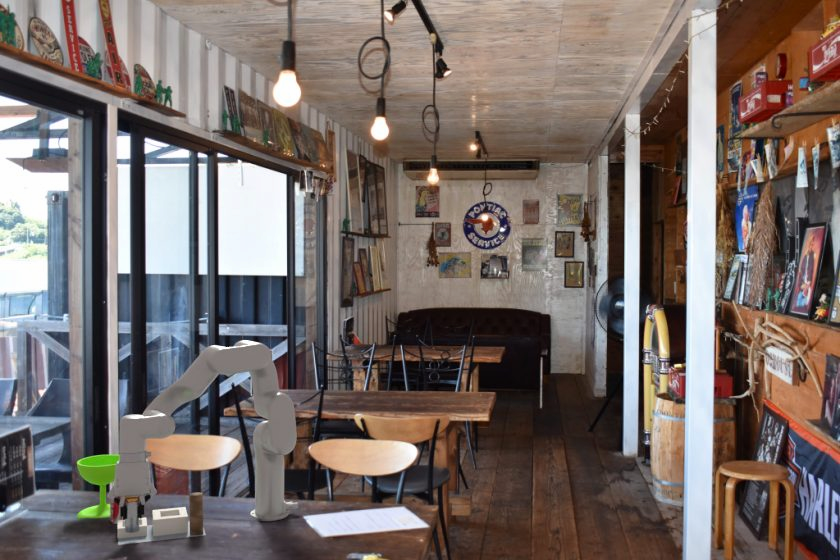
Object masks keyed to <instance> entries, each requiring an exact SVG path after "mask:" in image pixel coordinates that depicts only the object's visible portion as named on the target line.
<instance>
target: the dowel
mask: <svg viewBox="0 0 840 560" xmlns="http://www.w3.org/2000/svg"><path fill="white" fill-rule="evenodd" d="M188 497H189V498H188V499H189V501H188V503H189V505H188V507H189V521H190V535H201V534H203V527H204V493H203V492H191V493H189V496H188Z"/></svg>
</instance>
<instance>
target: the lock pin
mask: <svg viewBox="0 0 840 560" xmlns="http://www.w3.org/2000/svg"><path fill="white" fill-rule="evenodd" d="M140 501H141V500H140V495H136V496H127V497H125V532H127V533H134V532H137V531H139V503H140Z"/></svg>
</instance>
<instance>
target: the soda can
mask: <svg viewBox="0 0 840 560" xmlns="http://www.w3.org/2000/svg"><path fill="white" fill-rule="evenodd" d="M114 495H115V493H114ZM115 496H116V495H115ZM117 497H118V496H117ZM125 497H127V496H125ZM118 498H120V497H118ZM109 501H110V502H109V504H110V517H109V518H110V519H109V520H110V523H111V524H115V525H116V524H117V525H118V520H123V517H120V506H119V505H118V504H117V503H116V502H115V501H113V500H111V499H109ZM124 503H125V501H124Z"/></svg>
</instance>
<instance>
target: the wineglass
mask: <svg viewBox="0 0 840 560" xmlns="http://www.w3.org/2000/svg"><path fill="white" fill-rule="evenodd" d="M117 461H119V454H99V455H91V456H87V457H84V458H81V459H79V460H77V461H76V465H77V466H76V467H77V471H78V473H79V475H80V476H81V477H82V478H83V480H84V481H86V482H88V483H90V484H91V485H97V486H99V504H97V505H93V506H90V507H89V506H88V507H86V508H84V509H81V510H80V511H79V512H78V513H77V515H76V519H85V518H86V519H103V518H104V519H105V518H110V503H107V486H108V485H110V484H111V483H114V479H115V468H116V463H117Z"/></svg>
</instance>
